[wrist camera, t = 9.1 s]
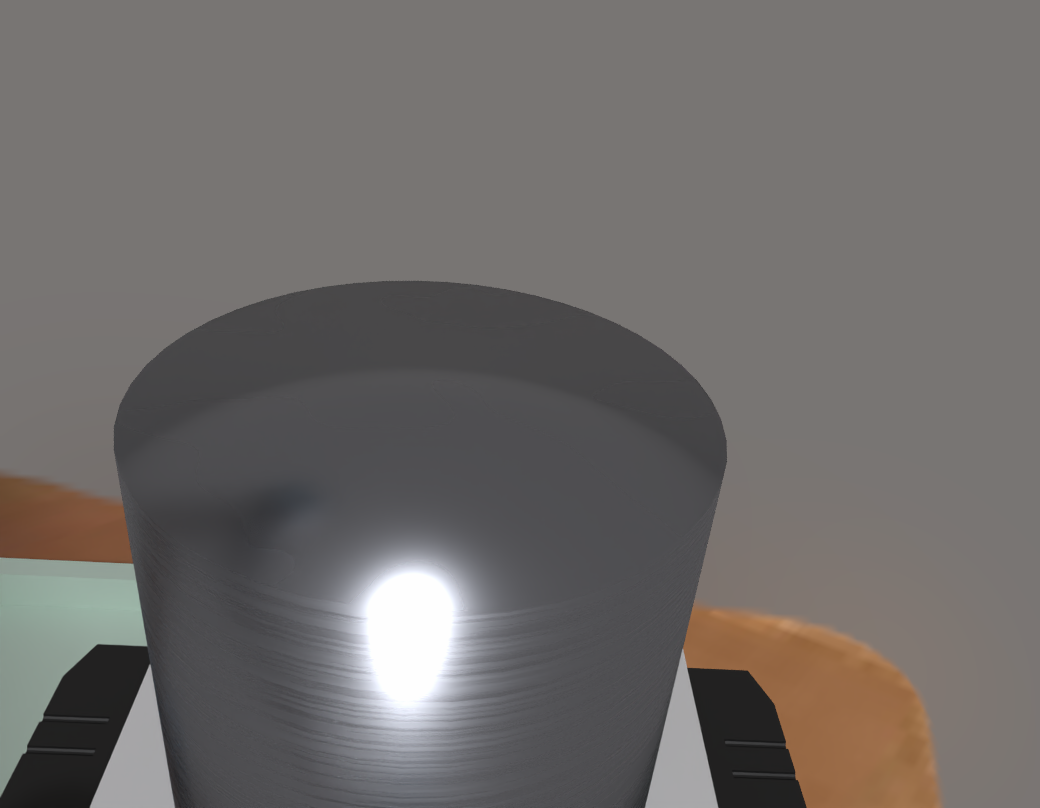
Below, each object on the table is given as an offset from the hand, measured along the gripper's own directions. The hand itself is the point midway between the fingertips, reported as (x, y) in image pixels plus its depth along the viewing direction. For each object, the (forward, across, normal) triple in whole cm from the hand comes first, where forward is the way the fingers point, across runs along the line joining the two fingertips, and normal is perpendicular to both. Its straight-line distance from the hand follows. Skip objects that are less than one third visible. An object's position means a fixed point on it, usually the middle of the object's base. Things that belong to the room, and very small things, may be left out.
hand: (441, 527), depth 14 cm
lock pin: (-5, 0, -8) cm, 10 cm away
